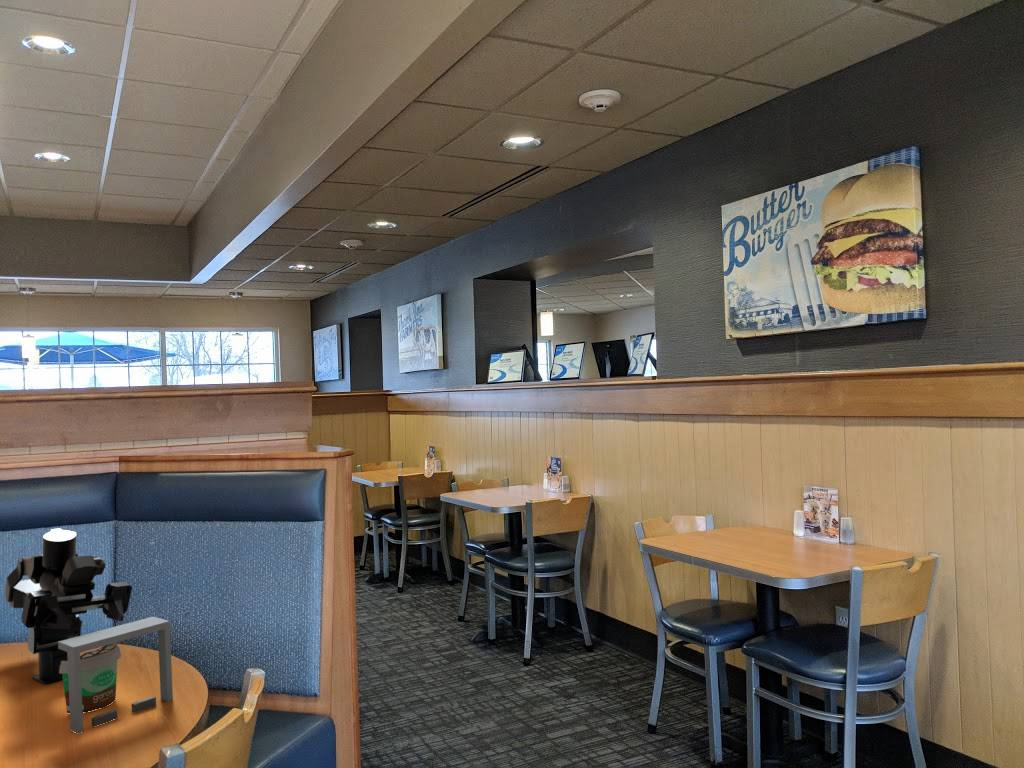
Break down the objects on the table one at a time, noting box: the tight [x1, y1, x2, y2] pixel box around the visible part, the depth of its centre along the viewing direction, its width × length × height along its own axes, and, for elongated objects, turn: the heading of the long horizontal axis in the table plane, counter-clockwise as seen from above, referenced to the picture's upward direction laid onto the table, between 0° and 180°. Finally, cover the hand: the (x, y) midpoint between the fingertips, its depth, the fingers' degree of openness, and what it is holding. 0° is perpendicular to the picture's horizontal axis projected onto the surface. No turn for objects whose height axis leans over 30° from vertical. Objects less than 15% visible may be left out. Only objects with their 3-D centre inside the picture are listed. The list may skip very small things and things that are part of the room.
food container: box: [59, 642, 122, 714], centre depth 145 cm, size 12×6×10 cm, turn 168°
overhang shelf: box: [58, 616, 174, 734], centre depth 141 cm, size 6×17×15 cm, turn 143°
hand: (97, 622), depth 146 cm, fingers open, 9 cm apart
